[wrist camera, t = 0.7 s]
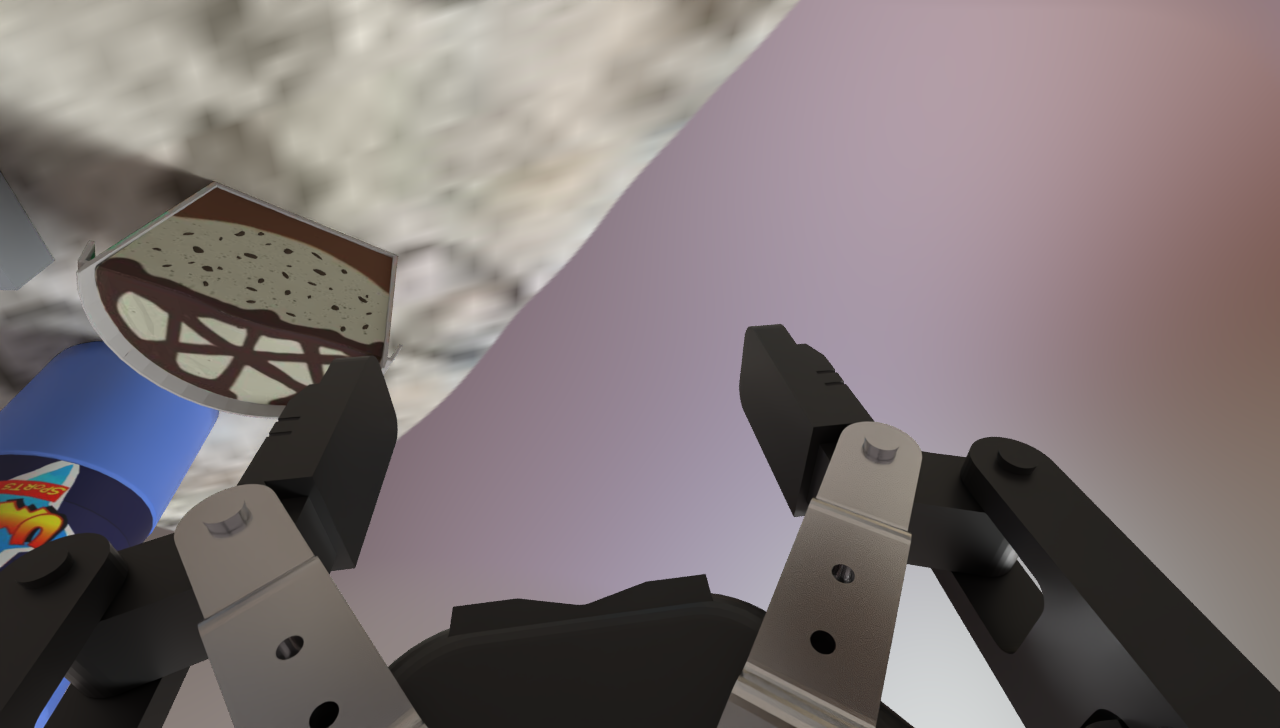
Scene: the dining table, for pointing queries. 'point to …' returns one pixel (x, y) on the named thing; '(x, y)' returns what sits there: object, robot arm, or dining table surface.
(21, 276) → the keyed plate
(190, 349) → the food container
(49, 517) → the water bottle
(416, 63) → the dining table surface
